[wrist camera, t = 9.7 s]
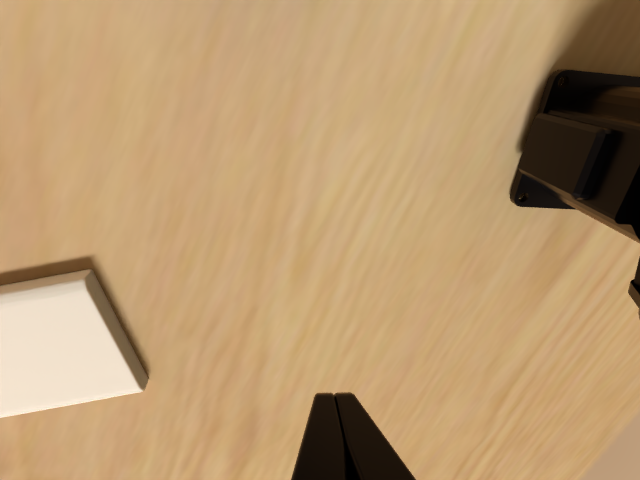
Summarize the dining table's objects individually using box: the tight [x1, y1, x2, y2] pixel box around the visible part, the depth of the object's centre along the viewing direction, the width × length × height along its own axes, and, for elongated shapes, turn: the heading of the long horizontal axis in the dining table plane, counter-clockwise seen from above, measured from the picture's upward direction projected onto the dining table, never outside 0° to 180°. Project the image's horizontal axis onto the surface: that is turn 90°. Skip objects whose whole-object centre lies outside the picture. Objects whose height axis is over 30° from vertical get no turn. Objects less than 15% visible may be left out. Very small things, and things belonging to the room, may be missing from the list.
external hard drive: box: [0, 269, 148, 418], centre depth 21 cm, size 2×8×12 cm
